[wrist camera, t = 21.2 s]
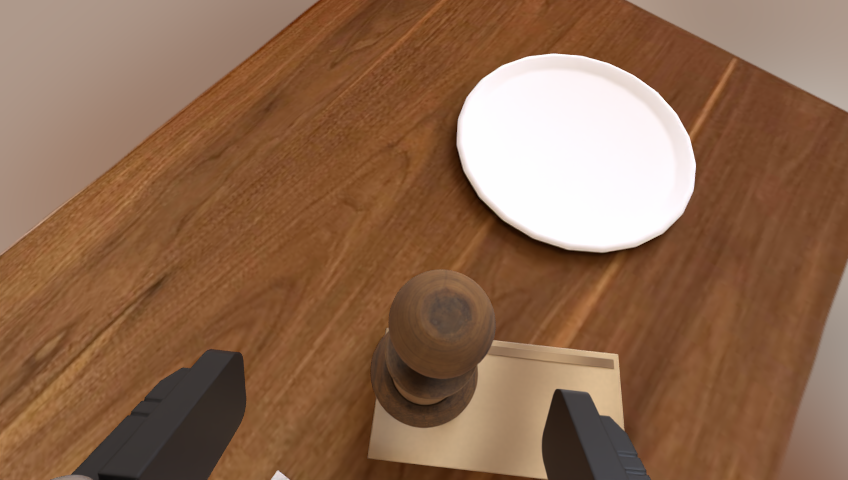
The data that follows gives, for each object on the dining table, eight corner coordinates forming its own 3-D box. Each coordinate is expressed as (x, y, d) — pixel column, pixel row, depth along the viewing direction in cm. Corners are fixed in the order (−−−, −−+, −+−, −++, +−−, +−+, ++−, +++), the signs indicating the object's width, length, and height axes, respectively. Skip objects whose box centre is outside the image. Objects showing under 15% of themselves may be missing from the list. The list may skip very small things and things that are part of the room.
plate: (506, 35, 42) (509, 24, 41) (709, 111, 39) (718, 102, 38) (414, 190, 34) (414, 182, 33) (658, 301, 31) (667, 297, 30)
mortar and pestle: (468, 321, 28) (552, 195, 12) (478, 423, 26) (603, 445, 9) (372, 326, 28) (318, 203, 11) (373, 430, 26) (307, 467, 9)
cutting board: (369, 456, 26) (366, 458, 25) (386, 332, 30) (385, 327, 28) (617, 485, 26) (630, 489, 25) (608, 357, 29) (619, 354, 28)
